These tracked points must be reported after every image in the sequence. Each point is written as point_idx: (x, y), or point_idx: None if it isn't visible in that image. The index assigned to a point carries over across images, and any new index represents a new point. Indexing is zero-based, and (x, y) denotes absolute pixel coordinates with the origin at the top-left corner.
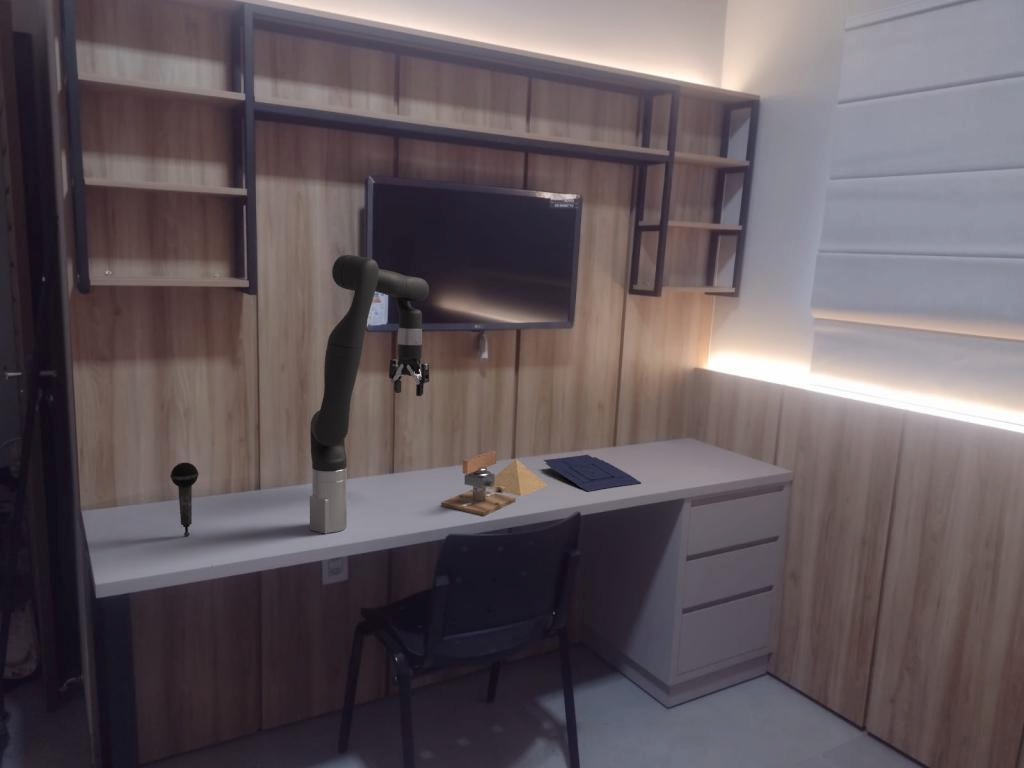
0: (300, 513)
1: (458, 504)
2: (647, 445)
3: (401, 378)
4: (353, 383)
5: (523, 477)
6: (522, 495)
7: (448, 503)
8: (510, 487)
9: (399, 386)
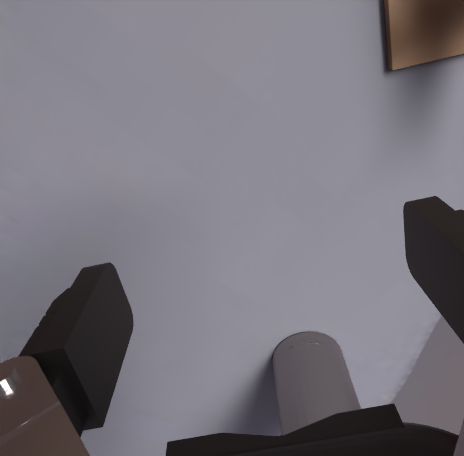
0: (185, 357)
1: (454, 40)
2: None
3: (45, 378)
4: None
5: None
6: None
7: (420, 59)
8: None
9: (100, 327)
